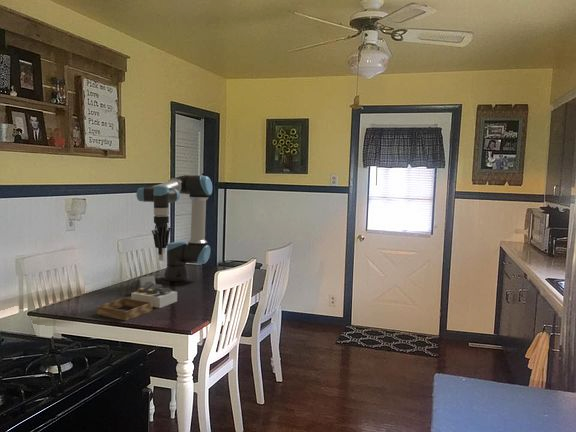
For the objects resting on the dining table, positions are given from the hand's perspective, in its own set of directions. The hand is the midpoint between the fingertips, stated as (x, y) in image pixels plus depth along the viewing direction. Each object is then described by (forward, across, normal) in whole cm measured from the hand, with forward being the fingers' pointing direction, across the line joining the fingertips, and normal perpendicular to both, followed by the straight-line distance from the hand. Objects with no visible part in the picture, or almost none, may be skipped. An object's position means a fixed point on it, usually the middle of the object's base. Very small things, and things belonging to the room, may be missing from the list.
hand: (161, 260), depth 253 cm
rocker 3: (+14, +7, +6) cm, 16 cm away
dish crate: (+20, +28, 0) cm, 34 cm away
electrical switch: (+21, -6, -15) cm, 27 cm away
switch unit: (+21, +7, +1) cm, 22 cm away
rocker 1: (+14, +7, -5) cm, 16 cm away
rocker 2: (+14, +7, +1) cm, 15 cm away
